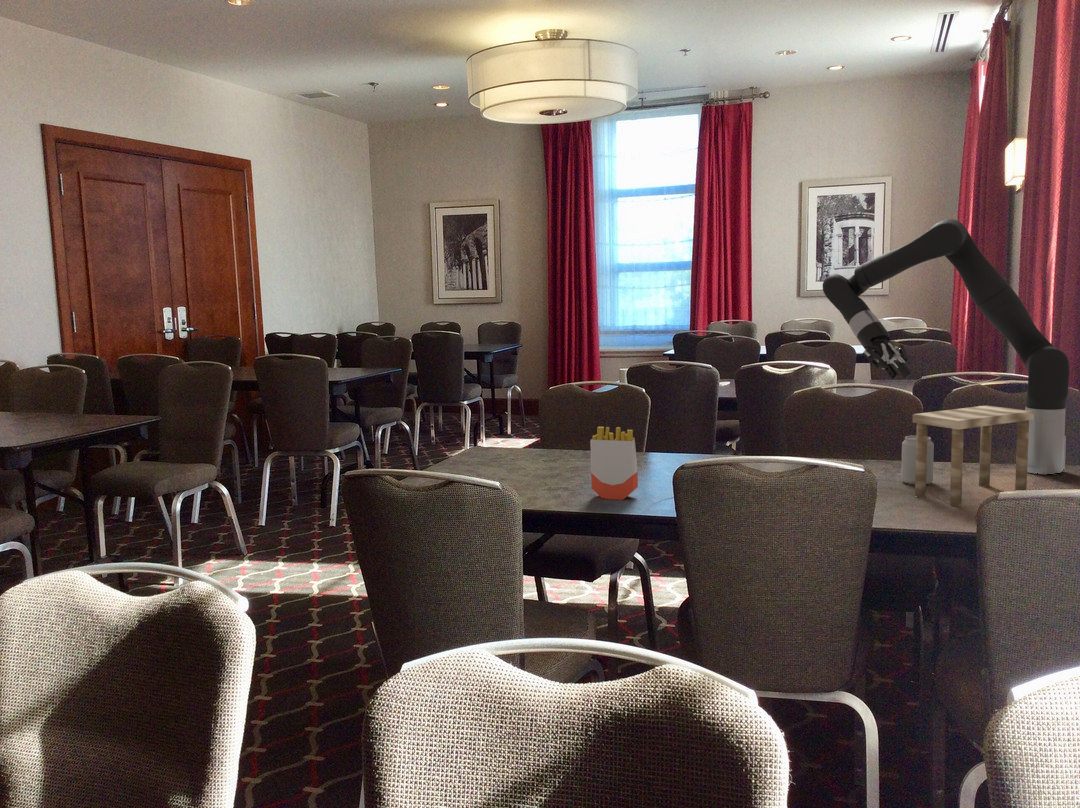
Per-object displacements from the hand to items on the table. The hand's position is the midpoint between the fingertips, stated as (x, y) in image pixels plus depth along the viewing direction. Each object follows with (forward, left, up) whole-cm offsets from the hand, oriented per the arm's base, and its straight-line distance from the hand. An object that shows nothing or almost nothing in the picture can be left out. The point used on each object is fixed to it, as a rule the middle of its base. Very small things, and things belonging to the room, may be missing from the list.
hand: (902, 376), depth 236 cm
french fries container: (+80, -16, -26) cm, 86 cm away
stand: (+7, +28, -26) cm, 39 cm away
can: (+7, +12, -26) cm, 30 cm away
